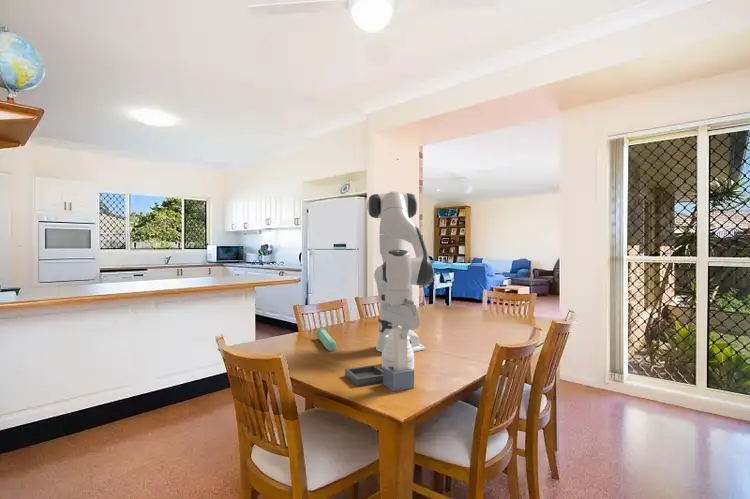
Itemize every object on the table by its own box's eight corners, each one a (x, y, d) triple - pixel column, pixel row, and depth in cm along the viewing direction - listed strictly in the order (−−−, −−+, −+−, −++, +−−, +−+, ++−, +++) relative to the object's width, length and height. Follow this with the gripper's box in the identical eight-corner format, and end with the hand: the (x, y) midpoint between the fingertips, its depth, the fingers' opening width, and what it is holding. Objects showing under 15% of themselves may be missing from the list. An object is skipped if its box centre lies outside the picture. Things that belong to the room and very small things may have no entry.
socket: (402, 380, 141) (402, 363, 141) (414, 388, 134) (414, 370, 134) (382, 383, 137) (382, 366, 137) (393, 391, 130) (393, 373, 130)
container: (335, 338, 179) (324, 326, 202) (323, 344, 177) (314, 331, 201) (340, 349, 179) (329, 336, 203) (328, 355, 178) (318, 341, 202)
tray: (374, 371, 151) (374, 365, 151) (388, 381, 140) (389, 374, 140) (345, 375, 146) (345, 369, 145) (357, 386, 135) (357, 379, 135)
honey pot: (375, 365, 158) (375, 320, 158) (399, 359, 166) (399, 317, 166) (395, 374, 148) (396, 326, 148) (420, 367, 156) (421, 322, 155)
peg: (402, 369, 138) (402, 326, 138) (407, 372, 135) (407, 328, 135) (393, 370, 137) (393, 327, 136) (398, 373, 133) (398, 329, 133)
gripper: (423, 300, 127) (424, 343, 127) (393, 293, 145) (394, 330, 146) (406, 302, 124) (407, 346, 125) (378, 294, 143) (379, 332, 143)
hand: (400, 337), depth 135 cm, fingers closed on peg, 3 cm apart
